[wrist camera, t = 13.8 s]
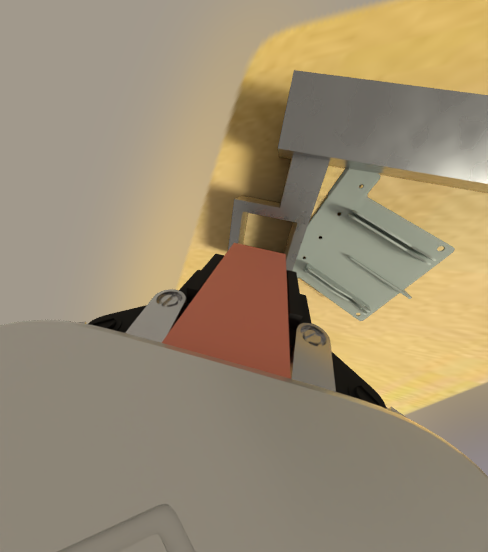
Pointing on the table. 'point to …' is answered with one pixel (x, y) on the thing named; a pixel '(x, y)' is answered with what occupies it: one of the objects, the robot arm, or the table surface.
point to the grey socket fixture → (370, 143)
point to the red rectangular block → (240, 312)
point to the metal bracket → (363, 248)
